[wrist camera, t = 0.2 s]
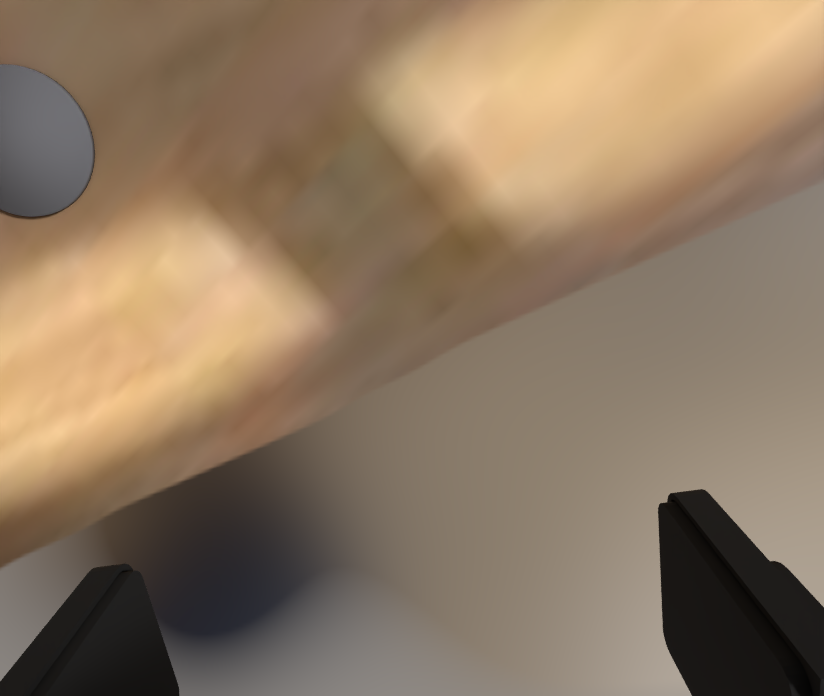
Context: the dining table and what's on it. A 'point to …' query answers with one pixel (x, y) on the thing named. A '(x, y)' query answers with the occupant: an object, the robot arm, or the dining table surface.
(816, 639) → the robot arm
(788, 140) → the dining table surface
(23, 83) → the felt coaster
